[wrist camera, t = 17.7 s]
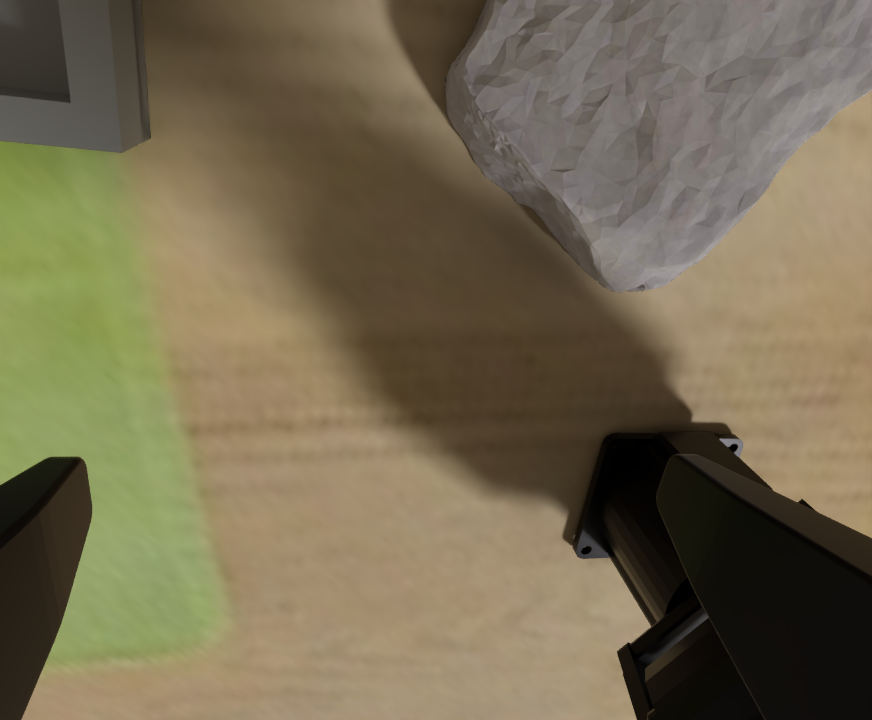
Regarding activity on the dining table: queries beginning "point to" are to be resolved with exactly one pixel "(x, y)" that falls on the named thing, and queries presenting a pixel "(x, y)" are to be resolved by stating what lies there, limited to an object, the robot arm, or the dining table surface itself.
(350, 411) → the dining table surface
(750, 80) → the stone block
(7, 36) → the tray
